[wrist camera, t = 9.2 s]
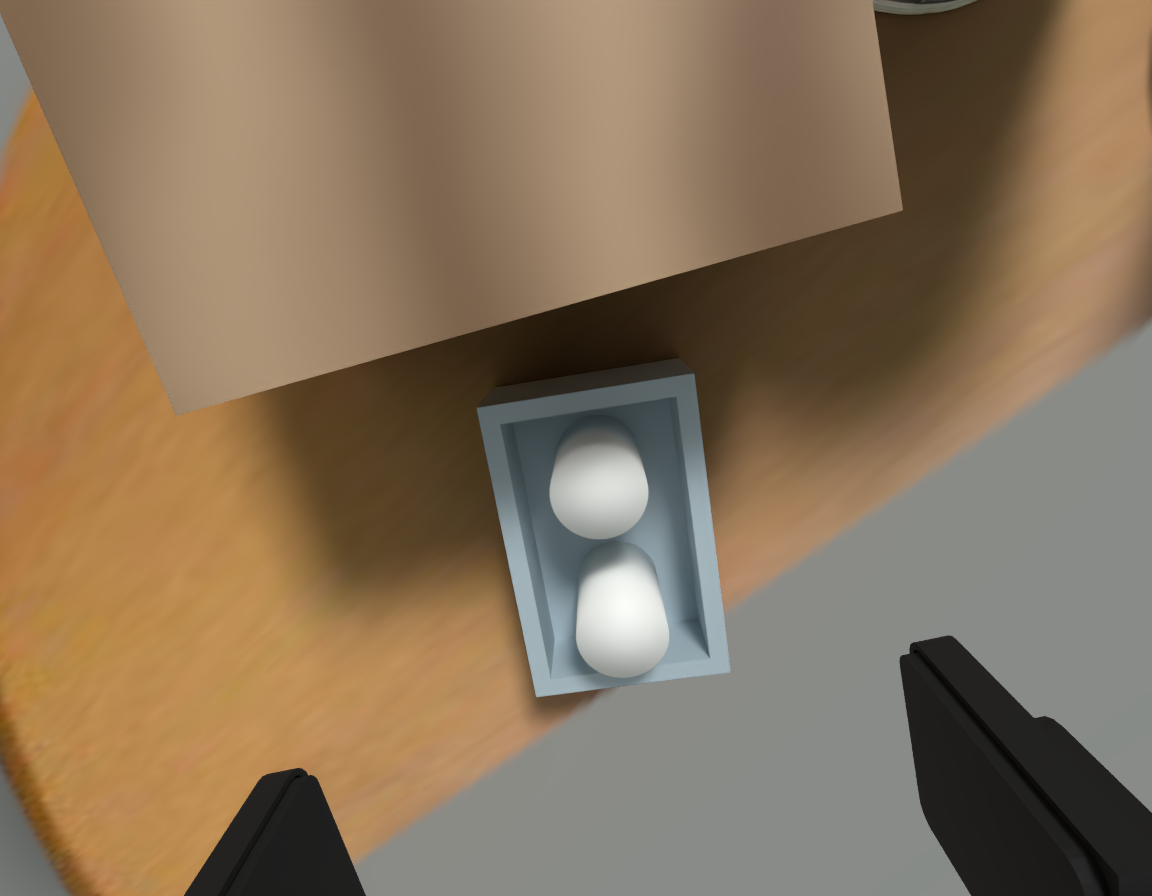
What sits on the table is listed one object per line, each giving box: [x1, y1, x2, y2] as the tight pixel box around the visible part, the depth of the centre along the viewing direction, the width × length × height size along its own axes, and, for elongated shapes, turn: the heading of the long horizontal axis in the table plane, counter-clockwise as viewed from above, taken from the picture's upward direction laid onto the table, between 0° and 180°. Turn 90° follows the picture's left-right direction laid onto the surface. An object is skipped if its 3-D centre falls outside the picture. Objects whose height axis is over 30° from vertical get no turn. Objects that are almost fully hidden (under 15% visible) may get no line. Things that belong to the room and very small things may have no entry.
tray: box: [477, 358, 730, 697], centre depth 22 cm, size 6×10×5 cm, turn 9°
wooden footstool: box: [0, 0, 903, 416], centre depth 17 cm, size 14×8×10 cm, turn 106°
